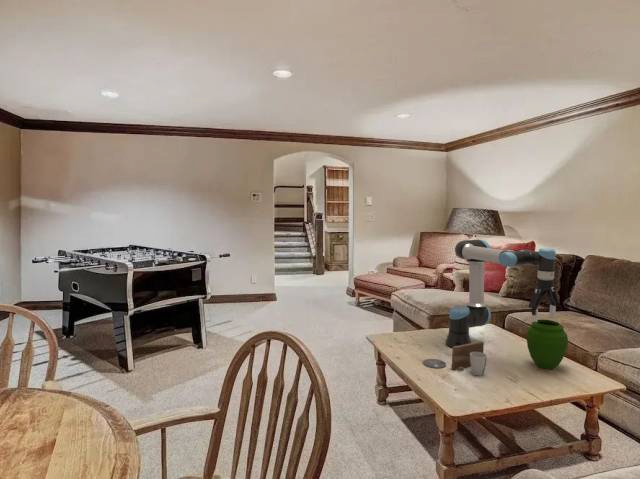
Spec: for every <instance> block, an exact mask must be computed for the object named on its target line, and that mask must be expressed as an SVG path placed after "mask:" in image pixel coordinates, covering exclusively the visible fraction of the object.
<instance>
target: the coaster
mask: <svg viewBox="0 0 640 479" xmlns="http://www.w3.org/2000/svg"><path fill="white" fill-rule="evenodd" d="M422 364H423V366H425V367H427V368H430V369H438V370H439V369H443V368H446V366H447V363H446V362H445V361H443V360H441V359H439V358H438V359H437V358H427V359H424V360H423V361H422Z"/></svg>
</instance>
